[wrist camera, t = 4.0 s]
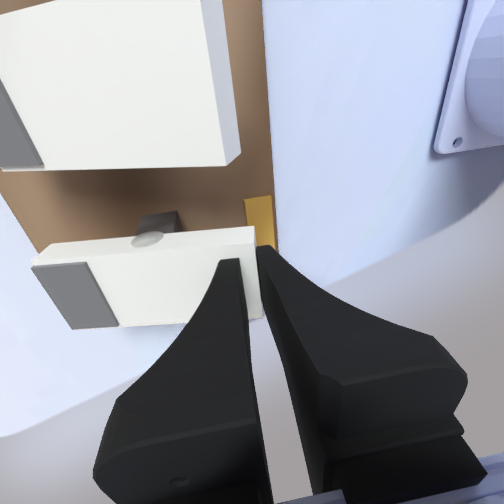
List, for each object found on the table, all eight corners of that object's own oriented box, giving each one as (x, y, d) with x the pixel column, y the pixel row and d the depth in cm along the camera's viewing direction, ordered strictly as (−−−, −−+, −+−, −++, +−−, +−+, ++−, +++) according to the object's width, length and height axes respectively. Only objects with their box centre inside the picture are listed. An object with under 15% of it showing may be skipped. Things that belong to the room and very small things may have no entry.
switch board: (252, -52, 10) (270, -98, 7) (275, 260, 17) (288, 293, 14) (-106, -17, 9) (-229, -54, 6) (79, 295, 16) (57, 336, 13)
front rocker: (224, -19, 6) (190, -39, 5) (244, 150, 8) (224, 167, 7) (-20, 38, 8) (-87, 35, 7) (42, 158, 10) (-2, 173, 9)
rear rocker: (254, 222, 11) (254, 245, 9) (262, 293, 13) (263, 320, 11) (56, 239, 11) (27, 263, 10) (93, 305, 13) (74, 332, 12)
